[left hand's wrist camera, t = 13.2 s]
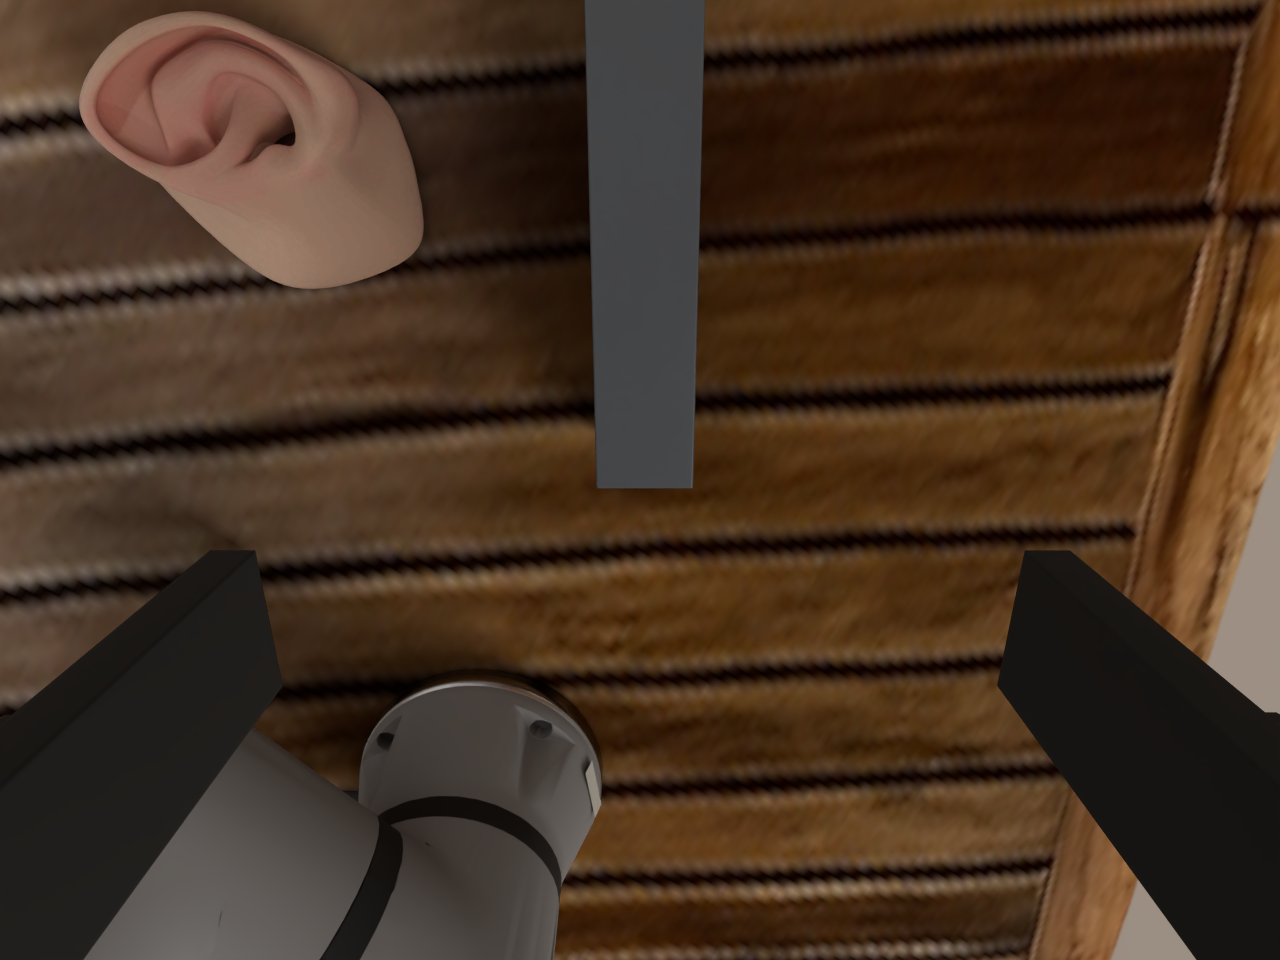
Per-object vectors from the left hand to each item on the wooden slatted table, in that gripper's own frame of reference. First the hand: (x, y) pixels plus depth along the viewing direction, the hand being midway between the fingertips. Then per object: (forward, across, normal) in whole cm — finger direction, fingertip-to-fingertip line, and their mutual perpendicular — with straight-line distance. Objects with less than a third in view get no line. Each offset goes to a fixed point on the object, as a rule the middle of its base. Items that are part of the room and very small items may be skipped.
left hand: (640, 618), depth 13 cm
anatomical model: (+28, +17, -8) cm, 34 cm away
